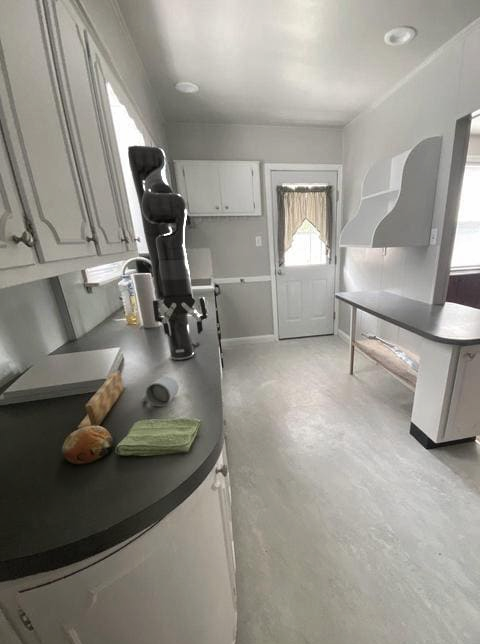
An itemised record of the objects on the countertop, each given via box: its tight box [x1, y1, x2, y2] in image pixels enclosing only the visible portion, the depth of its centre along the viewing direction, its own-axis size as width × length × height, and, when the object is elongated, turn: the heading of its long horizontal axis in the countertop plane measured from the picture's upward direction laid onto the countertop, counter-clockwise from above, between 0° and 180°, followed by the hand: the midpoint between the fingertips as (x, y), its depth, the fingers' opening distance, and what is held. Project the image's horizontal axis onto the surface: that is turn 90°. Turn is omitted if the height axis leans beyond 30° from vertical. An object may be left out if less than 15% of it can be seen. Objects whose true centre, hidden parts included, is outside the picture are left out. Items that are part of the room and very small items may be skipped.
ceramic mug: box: [142, 375, 180, 407], centre depth 95 cm, size 11×8×8 cm
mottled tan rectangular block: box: [77, 369, 124, 430], centre depth 91 cm, size 24×5×7 cm, turn 11°
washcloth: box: [115, 417, 202, 457], centre depth 76 cm, size 13×18×3 cm
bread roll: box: [61, 425, 114, 465], centre depth 72 cm, size 10×10×8 cm
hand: (184, 334), depth 89 cm, fingers open, 8 cm apart
